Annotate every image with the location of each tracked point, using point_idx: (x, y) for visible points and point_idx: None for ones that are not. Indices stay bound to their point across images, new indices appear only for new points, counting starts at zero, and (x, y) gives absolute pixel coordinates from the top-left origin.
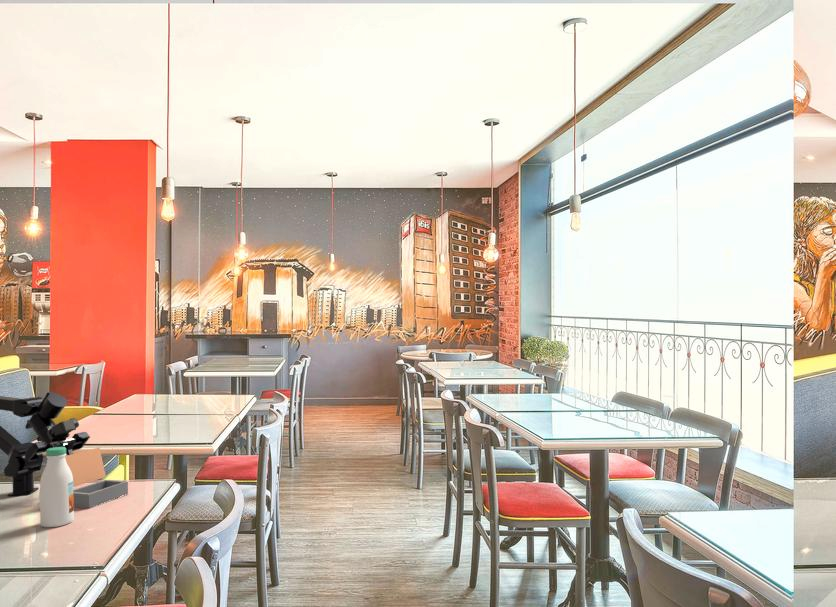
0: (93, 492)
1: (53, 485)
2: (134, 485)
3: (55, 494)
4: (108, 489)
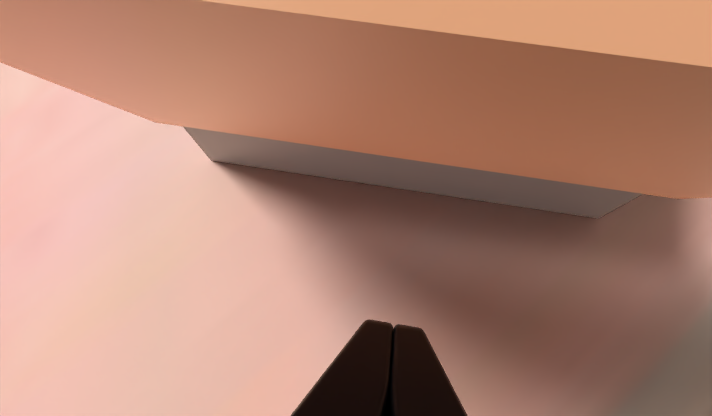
0: None
1: None
2: (4, 69)
3: None
4: None
